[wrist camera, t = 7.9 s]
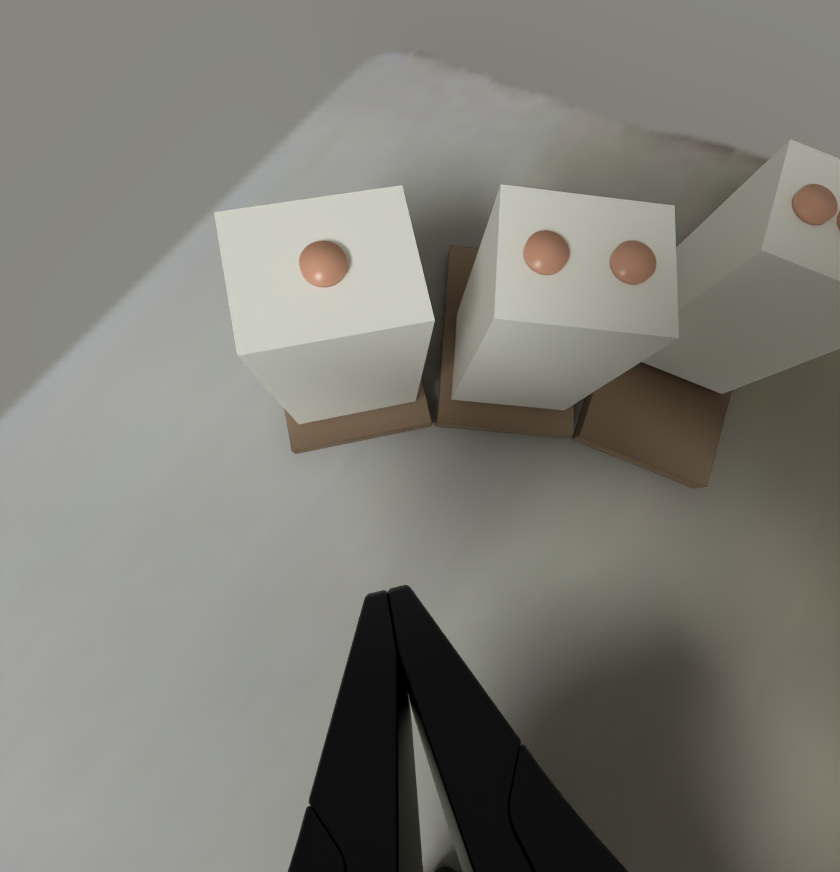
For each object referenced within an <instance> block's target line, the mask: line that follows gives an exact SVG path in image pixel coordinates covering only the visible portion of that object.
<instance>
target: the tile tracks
mask: <svg viewBox="0 0 840 872" xmlns="http://www.w3.org/2000/svg"><path fill="white" fill-rule="evenodd" d="M478 250H479V248H471V247H462V246H454V245H450V249H449V253H448V264H447V278H446V292H445V305H444V319H443V333H442V347H441V361H440V375H439V389H438V403H437V416H436V426H441V427H452V428H463V429H474V430H485V431H496V432H507V433H518V434H529V435H540V436H551V437H562V438H567V437H569V436H571V435H573V430H574V405H572V406H571V407H569V408H567V409H566V410H555V409H545V408H534V407H524V406H513V405H502V404H492V403H481V402H471V401H460V400H451V398H452V383H453V368H454V353H455V338H456V323H457V313H458V310H459V307H460V304H461V301H462V298H463V295H464V292H465V289H466V286H467V283H468V280H469V277H470V274H471V271H472V268H473V265H474V262H475V259H476V256H477V253H478ZM730 394H731V391H729V392H726V393H724V394H720V393H718V392H715V391H713V390H710V389H708V388H705V387H703V386H700V385H698V384H695V383H693V382H690V381H688V380H685V379H683V378H680V377H678V376H675V375H673V374H670V373H668V372H665V371H663V370H660V369H658V368H655V367H653V366H650V365H648V364H645V363H643V362H640V363H639V364H637V365H636V366H634V367H632V368H631V369H629V370H628V371H626V372H624V373H623V374H621V375H620V376H618V377H617V378H615V379H613V380H612V381H610V382H609V383H607V384H605V385H604V386H602V387H601V388H599V389H598V390H596V391H594V392H593V393H591V394H590V395H588V396H586V399H585V402H584V405H583V408H582V411H581V414H580V417H579V420H578V423H577V426H576V429H575V432H574V436H573V440H575V441H578V442H580V443H583V444H585V445H588V446H590V447H593V448H595V449H598V450H600V451H603V452H605V453H608V454H610V455H613V456H615V457H618V458H620V459H623V460H625V461H628V462H630V463H633V464H635V465H638V466H640V467H643V468H645V469H648V470H650V471H653V472H655V473H658V474H660V475H663V476H665V477H668V478H670V479H673V480H675V481H678V482H680V483H683V484H685V485H688V486H690V487H693V488H700V487H707V483H708V480H709V476H710V472H711V468H712V464H713V460H714V456H715V452H716V448H717V445H718V441H719V437H720V433H721V429H722V425H723V421H724V417H725V413H726V409H727V406H728V402H729V398H730ZM284 410H285V409H284ZM285 416H286V421H287V427H288V433H289V438H290V444H291V450H292V452H294V453H295V454H297V453H302V452H307V451H312V450H317V449H322V448H327V447H331V446H336V445H341V444H346V443H351V442H356V441H361V440H366V439H371V438H375V437H380V436H385V435H390V434H395V433H400V432H405V431H410V430H415V429H419V428H424V427H429V426H430V425H431V423H432V422H431V418H430V414H429V409H428V405H427V401H426V396H425V392H424V388H423V383H422V379H421V381H420V385H419V389H418V393H417V397H416V401H415V402H410V403H405V404H400V405H395V406H390V407H384V408H379V409H374V410H369V411H364V412H359V413H354V414H349V415H344V416H339V417H334V418H329V419H324V420H319V421H314V422H309V423H304V424H298V423H297V422H296V421H295V420H294V419H293V417H292V416H291V415H290V414H289V413H288V412H287V411H286V410H285Z"/></svg>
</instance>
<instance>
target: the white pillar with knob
mask: <svg viewBox="0 0 840 872" xmlns="http://www.w3.org/2000/svg"><path fill="white" fill-rule="evenodd" d="M214 214H215V220H216V227H217V233H218V239H219V245H220V251H221V258H222V264H223V270H224V276H225V282H226V289H227V295H228V301H229V307H230V313H231V320H232V326H233V332H234V338H235V344H236V351H237V356H238V357H239V358H240V359H241V360H242V362H243V363H244V364H245V365H246V366H247V367H248V368H249V369H250V370H251V372H252V373H253V374H254V375H255V376H256V377H257V378H258V379H259V381H260V382H261V383H262V384H263V385H264V386H265V387H266V388H267V389H268V391H269V392H270V393H271V394H272V395H273V396H274V397H275V398H276V400H277V401H278V402H279V403H280V404H281V405H282V406H283V407H284V409H285V410H286V411H287V412H288V413H289V414H290V415H291V416H292V417H293V419H294V420H295V421H296V422H297V423H298V424H304V423H309V422H314V421H319V420H324V419H329V418H334V417H339V416H344V415H349V414H354V413H359V412H364V411H369V410H374V409H379V408H384V407H390V406H395V405H400V404H405V403H410V402H415V401H416V397H417V393H418V389H419V385H420V381H421V376H422V372H423V368H424V364H425V360H426V356H427V351H428V347H429V343H430V339H431V335H432V330H433V326H434V322H435V319H434V315H433V311H432V307H431V302H430V298H429V294H428V290H427V286H426V282H425V278H424V274H423V269H422V265H421V261H420V257H419V253H418V249H417V245H416V241H415V236H414V232H413V228H412V224H411V220H410V216H409V212H408V207H407V203H406V199H405V195H404V191H403V187H402V185H401V186H394V187H387V188H380V189H373V190H366V191H359V192H352V193H345V194H338V195H331V196H324V197H317V198H311V199H304V200H297V201H290V202H283V203H276V204H269V205H262V206H255V207H248V208H241V209H234V210H227V211H220V212H214Z"/></svg>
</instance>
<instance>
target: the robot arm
mask: <svg viewBox="0 0 840 872" xmlns="http://www.w3.org/2000/svg"><path fill="white" fill-rule="evenodd" d="M408 695H409V697H408ZM409 699H410V703H411V707H412V711H413V714H414V718H415V721H416V724H417V728H418V731H419V734H420V737H421V740H422V744H423V747H424V750H425V753H426V756H427V760H428V763H429V766H430V769H431V772H432V776H433V779H434V782H435V785H436V789H437V792H438V795H439V798H440V801H441V805H442V808H443V811H444V814H445V817H446V821H447V824H448V827H449V830H450V833H451V837H452V840H453V843H454V846H455V849H456V853H457V856H458V859H459V862H460V865H461V869H462V872H628V871H627V870H626V869H625V868H624V866H623V865H622V864H621V863H620V862H619V861H618V860H617V859H616V858H615V856H614V855H613V854H612V853H611V852H610V851H609V850H608V849H607V847H606V846H605V845H604V844H603V843H602V842H601V841H600V840H599V838H598V837H597V836H596V835H595V834H594V833H593V832H592V830H591V829H590V828H589V827H588V826H587V825H586V823H585V822H584V821H583V820H582V819H581V817H580V816H579V815H578V814H577V813H576V812H575V810H574V809H573V808H572V807H571V806H570V804H569V803H568V802H567V801H566V800H565V799H564V797H563V796H562V795H561V793H560V792H559V791H558V789H557V788H556V787H555V785H554V784H553V783H552V782H551V780H550V779H549V778H548V776H547V775H546V774H545V772H544V771H543V770H542V768H541V767H540V766H539V764H538V763H537V762H536V760H535V759H534V758H533V756H532V755H531V753H530V752H529V751H528V749H527V748H526V746H525V745H523V744H522V745H521V740H520V739H519V737H518V736H517V734H516V733H515V732H514V730H513V729H512V727H511V726H510V725H509V723H508V722H507V721H506V719H505V718H504V716H503V715H502V714H501V712H500V711H499V709H498V708H497V707H496V705H495V704H494V703H493V701H492V700H491V698H490V697H489V696H488V694H487V693H486V691H485V690H484V689H483V687H482V686H481V685H480V683H479V682H478V680H477V679H476V678H475V676H474V675H473V673H472V672H471V671H470V669H469V668H468V667H467V665H466V664H465V662H464V661H463V660H462V658H461V657H460V655H459V654H458V653H457V651H456V650H455V649H454V647H453V646H452V644H451V643H450V642H449V640H448V639H447V637H446V636H445V635H444V633H443V632H442V631H441V629H440V628H439V626H438V625H437V624H436V622H435V621H434V619H433V618H432V617H431V615H430V614H429V613H428V611H427V610H426V608H425V607H424V606H423V604H422V603H421V601H420V600H419V599H418V597H417V596H416V595H415V593H414V592H413V590H412V589H411V588H410V587H409V586H408V585H403V586H399V587H395V588H391V589H389V591H388V593H387V591H385V590H382V591H378V592H374V593H370V594H368V595H366V597H365V599H364V603H363V606H362V610H361V613H360V617H359V621H358V624H357V628H356V631H355V635H354V639H353V642H352V646H351V649H350V653H349V657H348V660H347V664H346V668H345V671H344V675H343V678H342V682H341V686H340V689H339V693H338V696H337V700H336V704H335V707H334V711H333V714H332V718H331V722H330V725H329V729H328V733H327V736H326V740H325V743H324V747H323V751H322V754H321V758H320V761H319V765H318V769H317V772H316V776H315V779H314V783H313V787H312V790H311V794H310V798H309V804H310V805H311V806H308V807H307V808H306V811H305V815H304V818H303V822H302V825H301V829H300V833H299V836H298V840H297V843H296V846H295V850H294V853H293V856H292V860H291V863H290V866H289V869H288V872H423V865H422V852H421V839H420V826H419V812H418V799H417V786H416V773H415V760H414V747H413V734H412V721H411V711H410V703H409ZM436 872H456V871H455V870H453V869H451V868H448V867H443V868H440V869H438V870H437V871H436Z"/></svg>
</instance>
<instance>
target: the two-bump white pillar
mask: <svg viewBox="0 0 840 872" xmlns="http://www.w3.org/2000/svg"><path fill="white" fill-rule="evenodd" d="M678 338H679V321H678V292H677V262H676V232H675V206H674V205H666V204H657V203H649V202H641V201H633V200H625V199H616V198H608V197H600V196H592V195H583V194H575V193H567V192H559V191H551V190H542V189H534V188H526V187H518V186H509V185H500V188H499V191H498V194H497V197H496V200H495V203H494V206H493V209H492V212H491V215H490V218H489V221H488V224H487V227H486V230H485V233H484V236H483V239H482V242H481V244H480V247H479V250H478V253H477V256H476V259H475V262H474V265H473V268H472V271H471V274H470V277H469V280H468V283H467V286H466V289H465V292H464V295H463V298H462V301H461V304H460V307H459V310H458V313H457V323H456V338H455V353H454V368H453V383H452V398H451V400H460V401H471V402H481V403H492V404H502V405H513V406H524V407H534V408H545V409H555V410H566V409H567V408H569V407H571V406H572V405H574V404H575V403H577V402H578V401H580V400H582V399H583V398H585V397H586V396H588V395H590V394H591V393H593V392H594V391H596V390H598V389H599V388H601V387H602V386H604V385H605V384H607V383H609V382H610V381H612V380H613V379H615V378H617V377H618V376H620V375H621V374H623V373H624V372H626V371H628V370H629V369H631V368H632V367H634V366H636V365H637V364H639V363H640V362H642V361H643V360H645V359H647V358H648V357H650V356H651V355H653V354H655V353H656V352H658V351H659V350H661V349H662V348H664V347H666V346H667V345H669V344H670V343H672V342H674V341H675V340H677V339H678Z"/></svg>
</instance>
